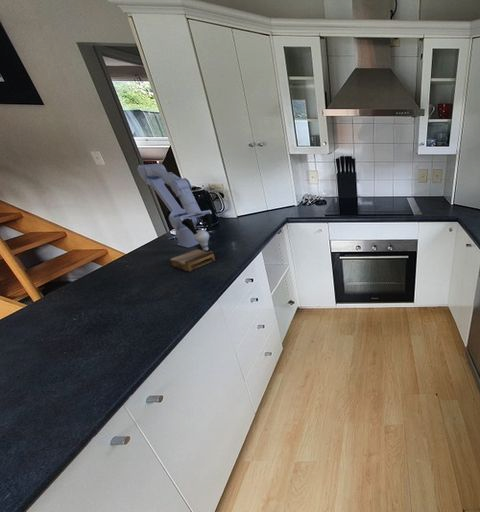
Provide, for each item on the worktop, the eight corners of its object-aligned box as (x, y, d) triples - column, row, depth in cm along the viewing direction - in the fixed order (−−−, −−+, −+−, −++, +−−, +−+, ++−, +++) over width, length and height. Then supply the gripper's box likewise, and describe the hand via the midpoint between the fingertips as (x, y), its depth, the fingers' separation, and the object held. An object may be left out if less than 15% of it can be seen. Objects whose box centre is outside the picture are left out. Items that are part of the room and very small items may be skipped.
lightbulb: (202, 248, 139) (196, 228, 134) (215, 248, 140) (209, 227, 135) (196, 253, 133) (189, 232, 128) (209, 253, 134) (203, 232, 129)
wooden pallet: (172, 265, 122) (169, 256, 120) (199, 255, 132) (196, 246, 129) (189, 271, 117) (186, 261, 115) (215, 260, 127) (212, 251, 125)
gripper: (177, 205, 120) (192, 234, 123) (209, 199, 132) (222, 225, 135) (170, 209, 123) (185, 237, 127) (202, 203, 135) (214, 228, 139)
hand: (203, 231), depth 131 cm, fingers open, 7 cm apart
